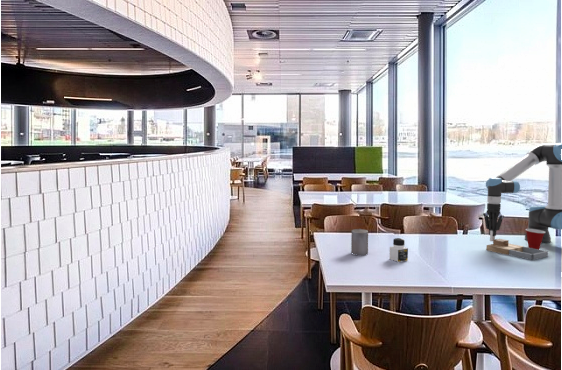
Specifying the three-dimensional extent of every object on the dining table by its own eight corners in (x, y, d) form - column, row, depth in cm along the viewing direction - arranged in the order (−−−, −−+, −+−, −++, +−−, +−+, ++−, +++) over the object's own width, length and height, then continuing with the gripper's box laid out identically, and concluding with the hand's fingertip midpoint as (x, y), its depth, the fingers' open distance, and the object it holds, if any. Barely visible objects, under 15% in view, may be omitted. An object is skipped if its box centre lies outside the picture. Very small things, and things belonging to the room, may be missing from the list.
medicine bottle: (397, 262, 245) (398, 240, 244) (389, 259, 252) (389, 238, 251) (407, 260, 249) (408, 239, 248) (398, 257, 255) (399, 236, 254)
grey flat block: (523, 251, 270) (523, 246, 270) (547, 256, 258) (547, 251, 258) (508, 254, 262) (509, 249, 262) (532, 260, 250) (533, 254, 250)
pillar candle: (355, 250, 271) (355, 226, 269) (370, 253, 265) (371, 228, 264) (348, 254, 263) (348, 229, 262) (363, 256, 257) (363, 230, 256)
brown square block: (499, 243, 278) (499, 238, 278) (508, 245, 273) (508, 240, 273) (493, 244, 275) (493, 239, 275) (502, 246, 270) (502, 241, 270)
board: (502, 246, 282) (502, 242, 282) (524, 251, 270) (524, 246, 270) (486, 250, 274) (486, 245, 273) (508, 254, 262) (508, 249, 262)
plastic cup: (547, 251, 270) (548, 231, 268) (527, 250, 272) (528, 231, 271) (540, 247, 280) (541, 228, 279) (521, 246, 282) (522, 227, 281)
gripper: (480, 202, 280) (479, 239, 282) (500, 204, 269) (498, 243, 271) (488, 201, 284) (486, 238, 286) (507, 203, 273) (505, 242, 275)
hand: (492, 240), depth 279 cm, fingers closed
